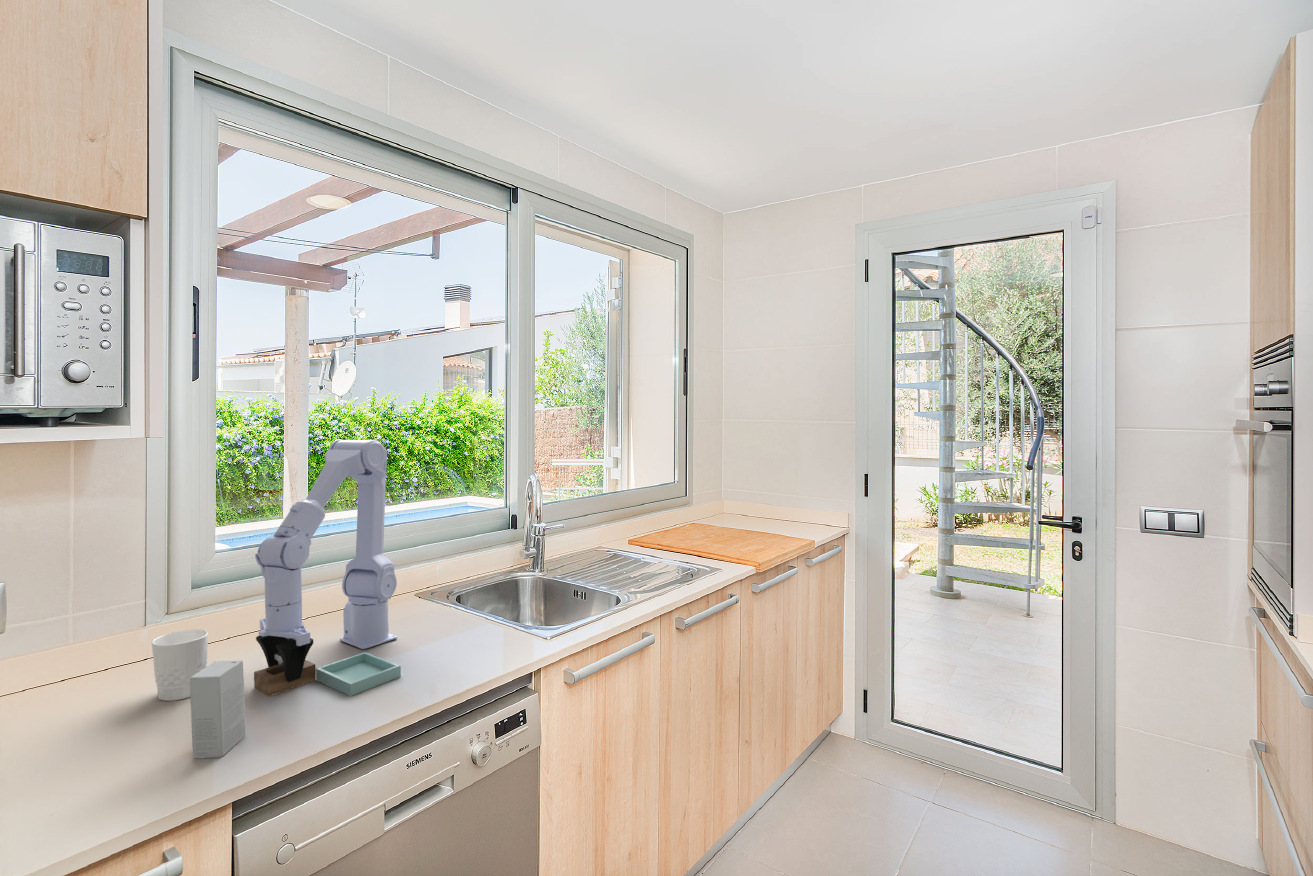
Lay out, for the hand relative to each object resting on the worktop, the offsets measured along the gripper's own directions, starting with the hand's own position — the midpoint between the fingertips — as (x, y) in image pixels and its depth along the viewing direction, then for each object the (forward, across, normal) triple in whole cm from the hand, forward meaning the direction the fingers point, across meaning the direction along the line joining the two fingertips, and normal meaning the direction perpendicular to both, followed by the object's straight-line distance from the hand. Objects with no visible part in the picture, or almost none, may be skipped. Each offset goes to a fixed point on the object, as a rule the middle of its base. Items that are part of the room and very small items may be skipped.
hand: (285, 675), depth 113 cm
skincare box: (+2, +14, -16) cm, 22 cm away
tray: (+2, +8, +9) cm, 12 cm away
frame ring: (+2, 0, 0) cm, 2 cm away
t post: (+2, 0, 0) cm, 2 cm away
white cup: (+2, -12, -12) cm, 17 cm away
